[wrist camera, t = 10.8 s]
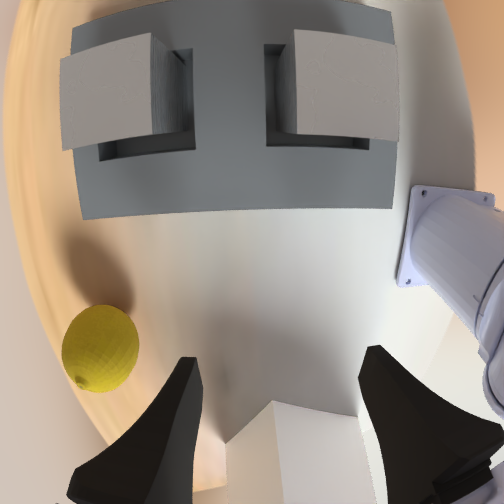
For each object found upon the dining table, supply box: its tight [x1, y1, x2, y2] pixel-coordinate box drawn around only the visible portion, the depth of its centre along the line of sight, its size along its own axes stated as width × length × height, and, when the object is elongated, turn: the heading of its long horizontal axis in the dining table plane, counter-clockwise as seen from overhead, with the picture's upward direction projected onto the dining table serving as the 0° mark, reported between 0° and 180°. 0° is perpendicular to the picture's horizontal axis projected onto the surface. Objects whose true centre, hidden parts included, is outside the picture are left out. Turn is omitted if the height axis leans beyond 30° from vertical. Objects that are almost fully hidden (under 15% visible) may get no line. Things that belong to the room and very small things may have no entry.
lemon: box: [62, 305, 139, 393], centre depth 18 cm, size 6×6×8 cm
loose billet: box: [60, 33, 189, 151], centre depth 11 cm, size 4×4×7 cm
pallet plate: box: [71, 0, 397, 220], centre depth 14 cm, size 18×12×3 cm, turn 91°
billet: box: [274, 29, 399, 142], centre depth 12 cm, size 4×4×7 cm
